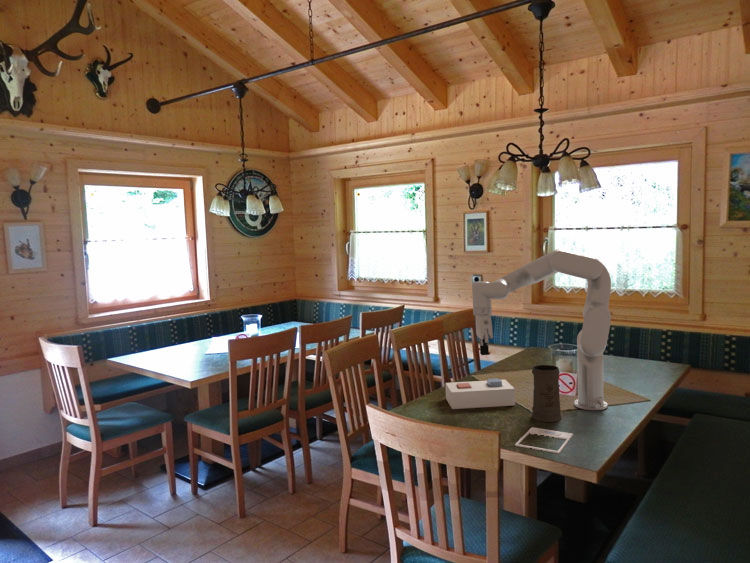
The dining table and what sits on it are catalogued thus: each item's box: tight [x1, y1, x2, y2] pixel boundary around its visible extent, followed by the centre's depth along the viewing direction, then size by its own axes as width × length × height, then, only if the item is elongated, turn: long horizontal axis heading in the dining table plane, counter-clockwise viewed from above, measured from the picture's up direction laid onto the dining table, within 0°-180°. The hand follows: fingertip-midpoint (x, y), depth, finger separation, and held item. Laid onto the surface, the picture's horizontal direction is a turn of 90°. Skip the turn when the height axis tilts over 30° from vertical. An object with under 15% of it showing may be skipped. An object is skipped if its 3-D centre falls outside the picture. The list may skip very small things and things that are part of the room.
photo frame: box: [514, 426, 574, 455], centre depth 193 cm, size 15×1×18 cm
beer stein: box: [531, 364, 562, 423], centre depth 216 cm, size 15×11×20 cm
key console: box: [445, 379, 516, 410], centre depth 237 cm, size 14×26×7 cm, turn 93°
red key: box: [457, 383, 471, 389], centre depth 236 cm, size 5×5×4 cm
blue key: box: [486, 377, 502, 387], centre depth 237 cm, size 5×5×4 cm
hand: (484, 354), depth 235 cm, fingers closed
